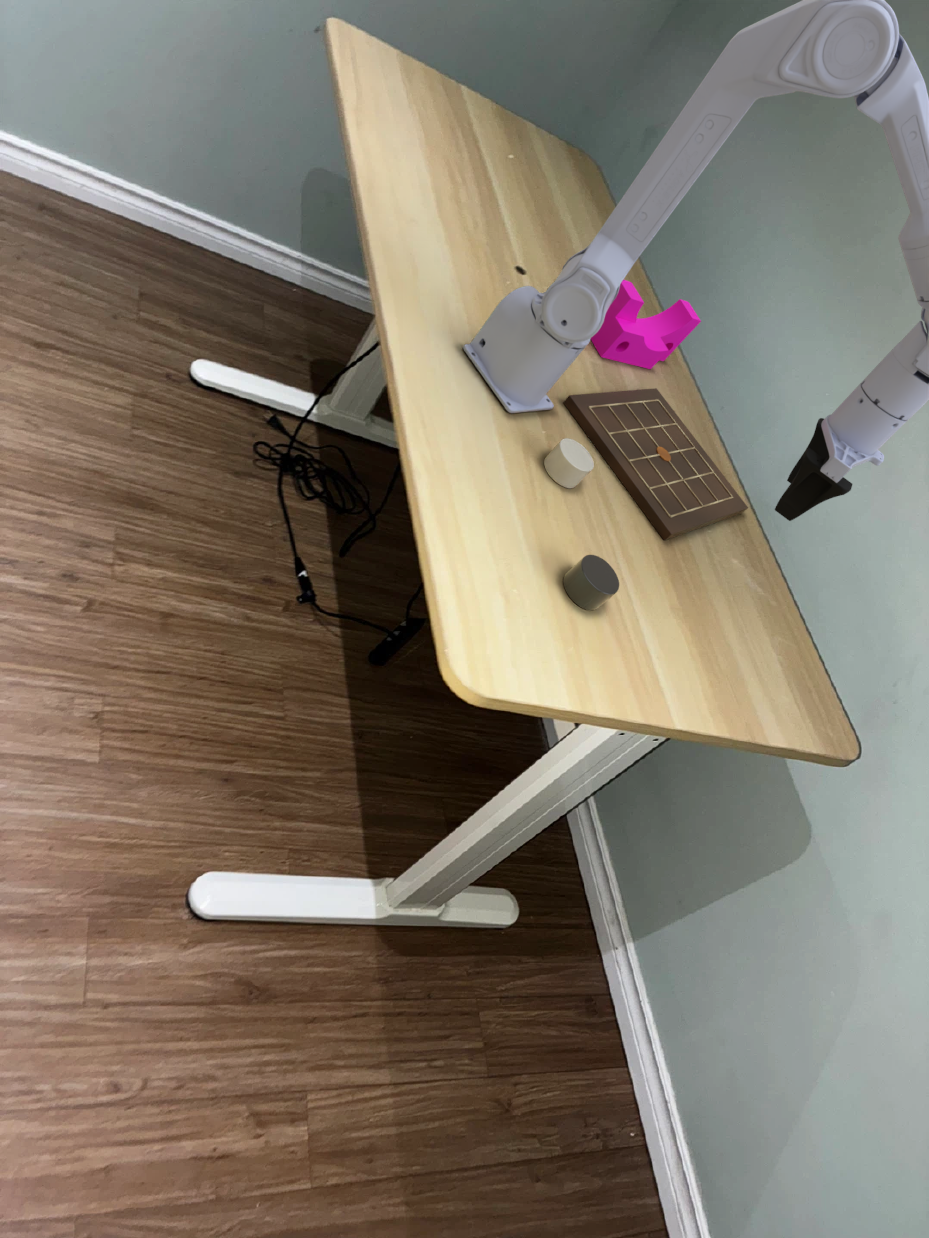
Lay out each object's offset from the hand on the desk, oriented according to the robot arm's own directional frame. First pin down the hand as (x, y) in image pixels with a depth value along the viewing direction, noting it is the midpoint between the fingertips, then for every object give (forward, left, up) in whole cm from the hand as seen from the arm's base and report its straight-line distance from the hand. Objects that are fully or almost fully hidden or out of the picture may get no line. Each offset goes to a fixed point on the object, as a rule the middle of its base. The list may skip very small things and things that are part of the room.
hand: (788, 499), depth 88 cm
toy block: (-32, +14, -10) cm, 36 cm away
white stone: (-15, -18, -10) cm, 25 cm away
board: (-14, +1, -10) cm, 17 cm away
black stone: (-2, -27, -10) cm, 29 cm away
